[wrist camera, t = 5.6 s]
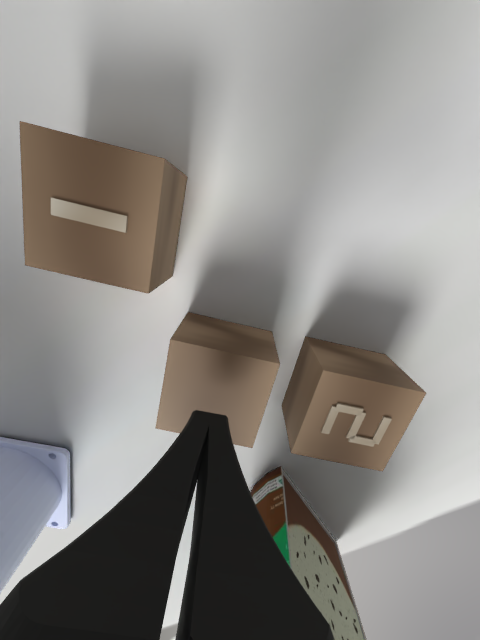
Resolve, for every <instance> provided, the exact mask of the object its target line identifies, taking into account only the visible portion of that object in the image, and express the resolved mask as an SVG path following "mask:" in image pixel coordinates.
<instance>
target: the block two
mask: <svg viewBox="0 0 480 640" xmlns="http://www.w3.org/2000/svg"><path fill="white" fill-rule="evenodd" d="M425 394H426V392H425V391H424V390H423V389H422V388H421V387H420V386H418V385H417V384H416V383H415V382H414V381H413V380H412V379H411V378H410V377H409V376H408V375H407V374H406V373H405V372H404V371H402V370H401V369H400V368H399V367H398V366H397V365H396V364H395V363H394V362H393V361H392V360H391V359H390V358H389V357H388V356H386V355H385V354H381V353H376V352H372V351H367V350H363V349H359V348H354V347H350V346H345V345H341V344H337V343H332V342H328V341H323V340H319V339H315V338H310V337H306V336H305V339H304V342H303V345H302V348H301V351H300V354H299V356H298V359H297V362H296V365H295V368H294V371H293V374H292V377H291V380H290V382H289V385H288V388H287V391H286V394H285V397H284V400H283V403H282V410H283V415H284V420H285V425H286V430H287V435H288V440H289V445H290V450H291V453H293V454H298V455H303V456H308V457H313V458H318V459H323V460H328V461H333V462H338V463H343V464H348V465H353V466H358V467H363V468H368V469H373V470H378V471H383V470H384V468H385V466H386V464H387V463H388V461H389V459H390V457H391V455H392V454H393V452H394V450H395V448H396V446H397V445H398V443H399V441H400V439H401V438H402V436H403V434H404V432H405V430H406V429H407V427H408V425H409V423H410V421H411V420H412V418H413V416H414V414H415V412H416V411H417V409H418V407H419V405H420V403H421V402H422V400H423V398H424V396H425Z"/></svg>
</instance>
